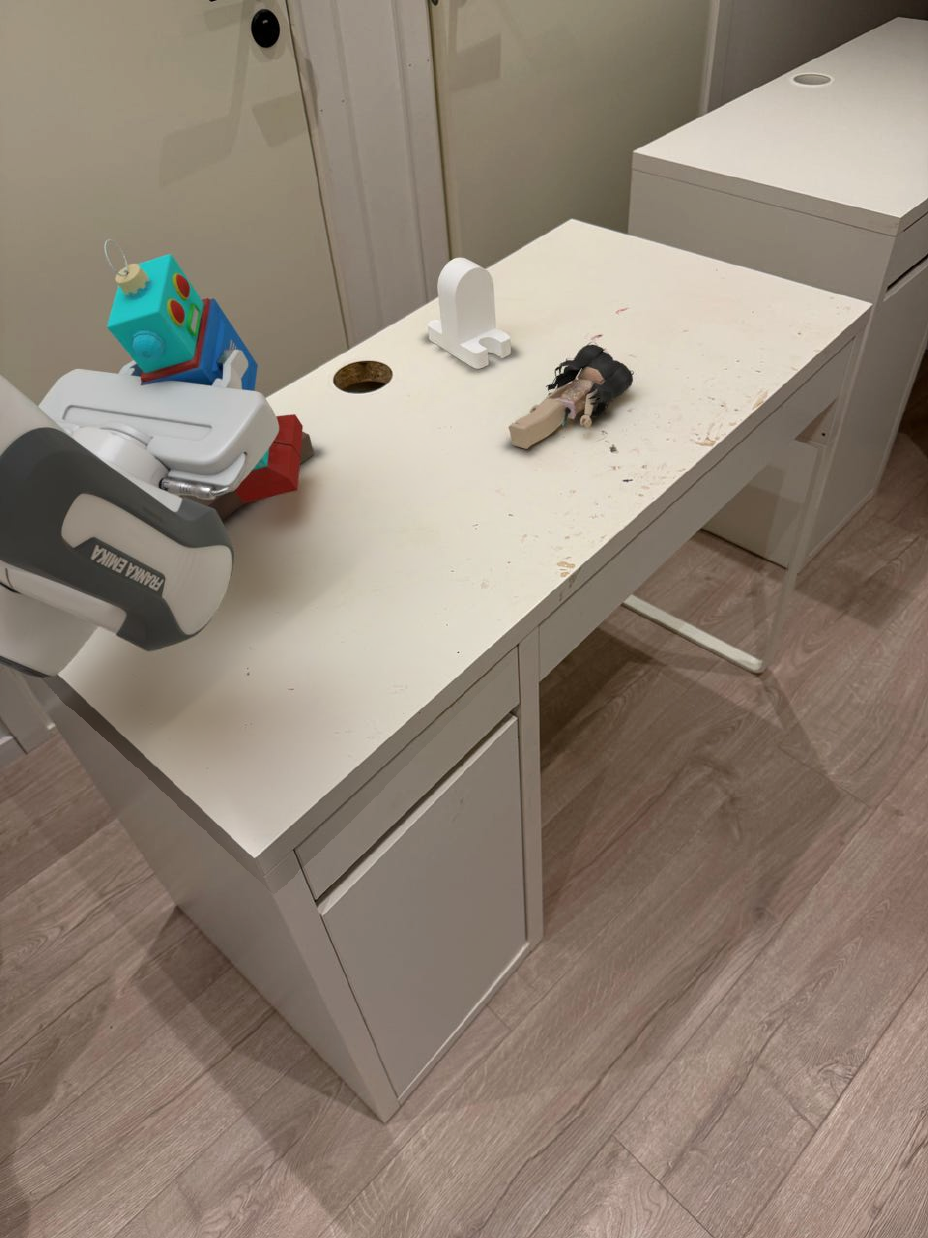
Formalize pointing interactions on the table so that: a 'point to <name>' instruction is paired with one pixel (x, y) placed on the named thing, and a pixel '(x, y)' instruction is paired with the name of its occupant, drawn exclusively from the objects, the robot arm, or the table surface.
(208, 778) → the table surface
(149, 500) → the robot arm
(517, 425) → the toy figure
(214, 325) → the toy robot
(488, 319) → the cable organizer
